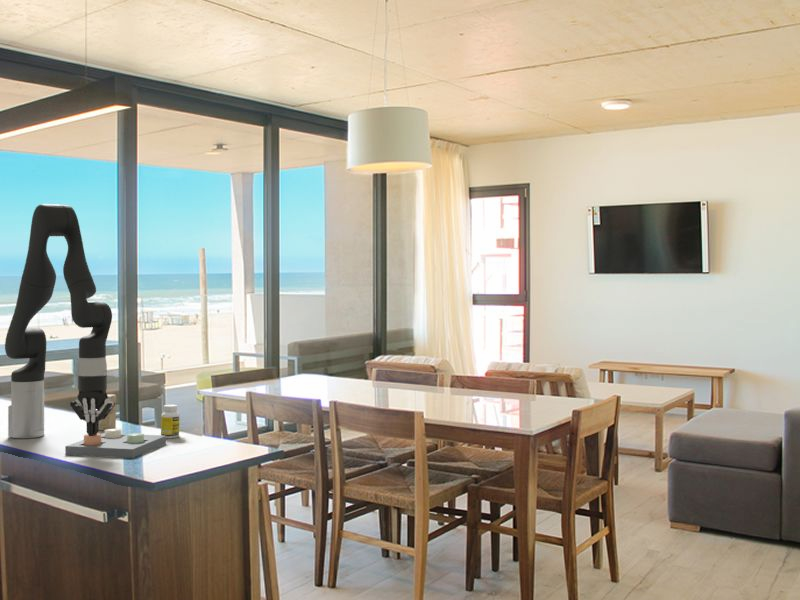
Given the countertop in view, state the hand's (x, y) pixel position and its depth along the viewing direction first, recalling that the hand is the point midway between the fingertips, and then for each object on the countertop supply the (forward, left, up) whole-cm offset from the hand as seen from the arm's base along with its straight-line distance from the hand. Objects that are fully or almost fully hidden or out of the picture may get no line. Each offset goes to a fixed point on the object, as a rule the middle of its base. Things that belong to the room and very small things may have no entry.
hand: (92, 435), depth 225 cm
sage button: (+10, +6, -5) cm, 12 cm away
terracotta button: (0, 0, -4) cm, 4 cm away
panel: (+4, +6, -5) cm, 9 cm away
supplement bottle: (+11, +26, -5) cm, 28 cm away
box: (-15, +34, -5) cm, 37 cm away
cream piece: (0, +11, -5) cm, 12 cm away
